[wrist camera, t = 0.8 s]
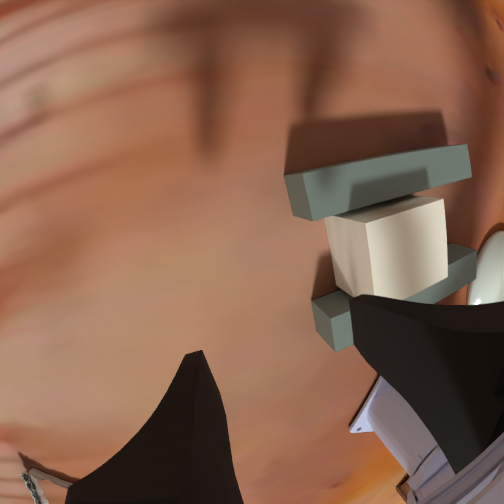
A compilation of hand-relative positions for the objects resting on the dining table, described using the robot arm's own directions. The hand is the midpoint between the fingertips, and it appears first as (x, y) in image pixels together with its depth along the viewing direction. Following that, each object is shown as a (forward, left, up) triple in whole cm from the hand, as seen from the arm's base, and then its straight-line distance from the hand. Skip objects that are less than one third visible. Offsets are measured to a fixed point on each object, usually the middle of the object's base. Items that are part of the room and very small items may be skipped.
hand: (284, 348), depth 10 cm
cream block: (-8, -5, -9) cm, 12 cm away
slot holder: (-9, -6, -8) cm, 14 cm away
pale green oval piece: (-27, -6, -8) cm, 29 cm away
